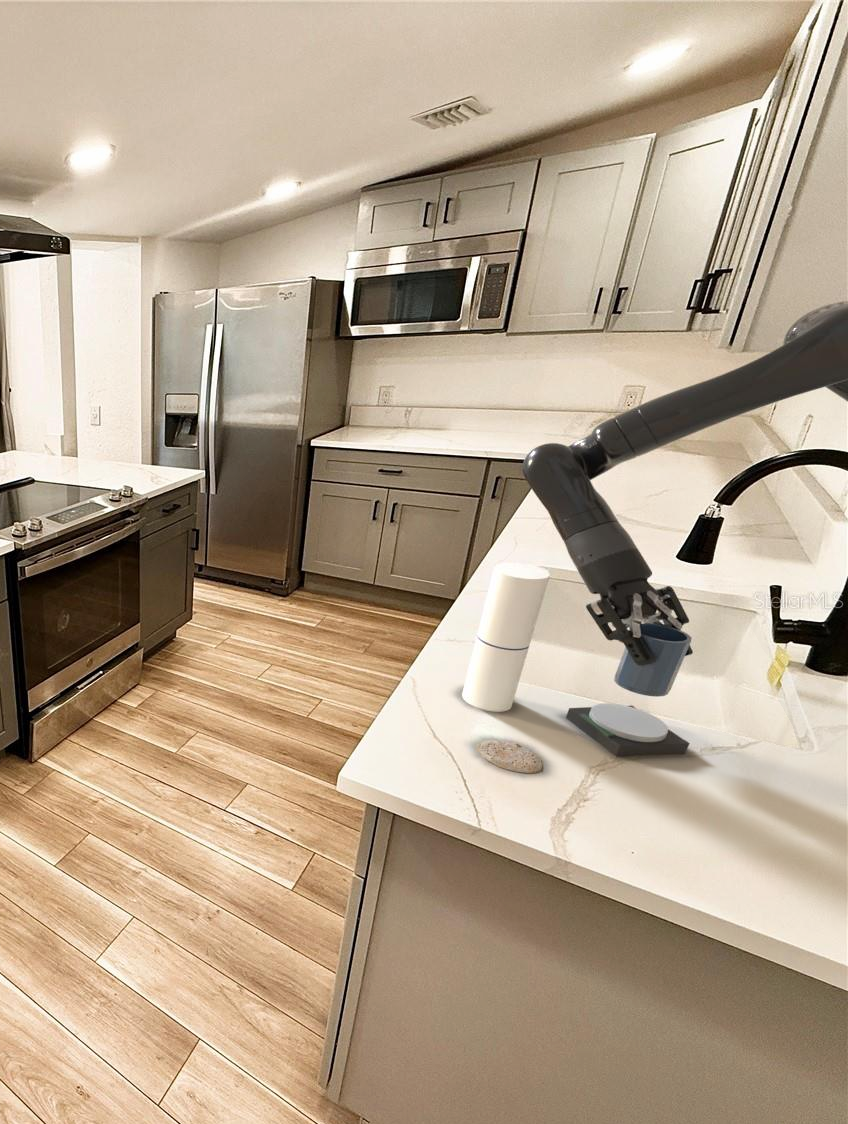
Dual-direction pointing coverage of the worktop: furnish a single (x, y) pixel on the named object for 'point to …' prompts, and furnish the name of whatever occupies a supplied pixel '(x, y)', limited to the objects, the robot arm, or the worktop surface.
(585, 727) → the scale
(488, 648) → the cylindrical container
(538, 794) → the worktop surface
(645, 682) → the tumbler
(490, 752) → the flatbread
